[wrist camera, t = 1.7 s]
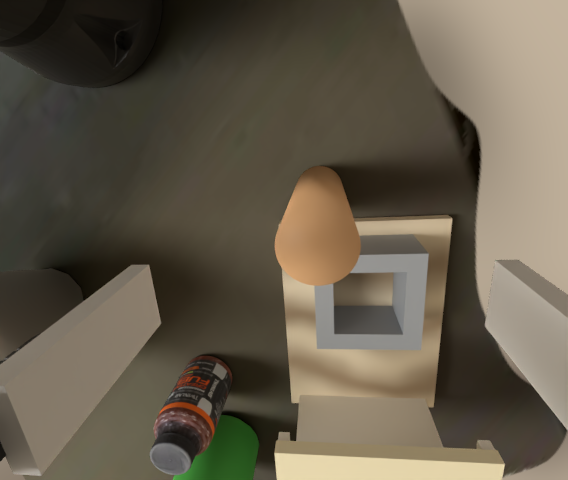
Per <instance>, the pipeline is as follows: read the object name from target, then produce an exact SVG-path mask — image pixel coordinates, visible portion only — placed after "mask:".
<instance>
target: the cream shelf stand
mask: <svg viewBox="0 0 568 480" xmlns="http://www.w3.org/2000/svg"><path fill="white" fill-rule="evenodd" d="M274 454H275V464H276V474H277V480H502V476H503V471H504V466H505V464H504V462H503V460H502V458H501V456H500V454H499V452H498V451H497V450H495V449H494V447H493V446H492V444H491V442H490V441H488V440H478V441H477V447H476V449H461V448H443V445H442V443H441V440H440V437H439V435H438V432H437V429H436V427H435V424H434V421H433V419H432V416H431V413H430V411H429V408H428V405H427V403H426V400H425V399H420V398H384V397H349V396H313V395H300V398H299V411H298V423H297V436H296V441H290V432H279V435H278V440H276V445H275V452H274Z"/></svg>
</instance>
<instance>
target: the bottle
mask: <svg viewBox="0 0 568 480" xmlns="http://www.w3.org/2000/svg"><path fill="white" fill-rule="evenodd" d="M258 449H259V441H258V438H257V435H256V434H255V432H254V431H253V430H252V428H251V427H250V426H249V425H247V424H246V423H244V422H243V421H241V420H240V419H238V418H235V417H232V416H227V415H221V416H220V419H219V421H218V424H217V427H216V430H215V433H214V435H213V438H212V441H211V443H210V445H209V446H208V448H207V449H206V450H205V451H204V452H203V453H201V454H200V455H198V456H195V458H194V460H193V463H192V465H191V468H190V469H189V470H188V471H187V472H186V473H184V474H181V475H175V476H174V478H173V480H253V476H254V470H255V465H256V460H257V454H258Z"/></svg>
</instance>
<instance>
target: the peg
mask: <svg viewBox="0 0 568 480" xmlns="http://www.w3.org/2000/svg"><path fill="white" fill-rule="evenodd" d="M360 250H361V241H360V236H359V233H358V230H357V227H356V224H355V221H354V218H353V215H352V212H351V209H350V206H349V203H348V200H347V197H346V194H345V191H344V188H343V185H342V182H341V179H340V177H339V176H338V174H337V173H336V172H335V171H333V170H332V169H330V168H328V167H325V166H315V167H312V168H309V169H307V170H306V171H305V172H304V173H303V174H302V175H301V176H300V178H299V180H298V182H297V184H296V187H295V189H294V192H293V194H292V197H291V199H290V202H289V204H288V207H287V209H286V212H285V214H284V217H283V219H282V222H281V224H280V226H279V229H278V231H277V234H276V238H275V252H276V256H277V259H278V262H279V264H280V265H281V267H282V268H283V270H284V271H285V272H286V273H287V274H288V275H289V276H291V277H292V278H293V279H295V280H297V281H299V282H301V283H304V284H307V285H313V286H323V285H329V284H332V283H335V282H337V281H339V280H341V279H343V278H344V277H345V276H347V275H348V274H349V273H350V272H351V271H352V269H353V268H354V267H355V265H356V263H357V261H358V259H359V255H360Z"/></svg>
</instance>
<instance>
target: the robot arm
mask: <svg viewBox="0 0 568 480" xmlns="http://www.w3.org/2000/svg"><path fill="white" fill-rule="evenodd" d="M162 5H163V0H0V51H1V52H3V53H4V54H6V55H8V56H9V57H11V58H12V59H14V60H16V61H17V62H19V63H21V64H22V65H24V66H26V67H27V68H29V69H30V70H32V71H34V72H35V73H37V74H39V75H41V76H43V77H45V78H47V79H50V80H53V81H55V82H59V83H62V84H67V85H73V86H80V87H88V88H98V87H105V86H110V85H113V84H116V83H118V82H120V81H122V80H124V79H126V78H127V77H129V76H130V75H131V74H133V73H134V72H135V71H136V70H137V69H138V68H139V67H140V66H141V65H142V64H143V62H144V61H145V60H146V58H147V57H148V55H149V53H150V52H151V50H152V48H153V45H154V43H155V41H156V38H157V35H158V31H159V28H160V23H161V16H162ZM160 324H161V320H160V315H159V310H158V305H157V301H156V296H155V291H154V286H153V281H152V276H151V272H150V267H149V265H131V266H129V267H128V268H127V269H125V270H124V271H123V272H121V273H120V274H119V275H117V276H116V277H115V278H113V279H112V280H111V281H109V282H108V283H107V284H106V285H104V286H103V287H102V288H100V289H99V290H98V291H96V292H95V293H94V294H92V295H91V296H90V297H88V298H87V299H86V300H85V301H83V302H82V303H81V304H79V305H78V306H77V307H75V308H74V309H73V310H71V311H70V312H69V313H67V314H66V315H65V316H63V317H62V318H61V319H60V320H58V321H57V322H56V323H54V324H53V325H52V326H50V327H49V328H48V329H46V330H45V331H44V332H42V333H40V334H38V335H36V336H34V337H32V338H31V339H29V340H28V341H27V342H25V343H24V344H23V345H21V346H20V347H19V348H17V351H13V352H12V353H11V354H9V355H8V356H7V357H5V358H4V361H0V461H1V460H2V459H3V458H4V457H6V459H7V461H8V463H9V465H10V468H11V470H12V472H13V473H14V474H22V475H37V476H42V474H43V473H44V472H45V470H46V469H47V468H48V467H49V465H50V464H51V463H52V462H53V460H54V459H55V458H56V456H57V455H58V454H59V453H60V451H61V450H62V449H63V448H64V446H65V445H66V444H67V442H68V441H69V440H70V439H71V437H72V436H73V435H74V434H75V432H76V431H77V430H78V429H79V427H80V426H81V425H82V423H83V422H84V421H85V420H86V418H87V417H88V416H89V415H90V413H91V412H92V411H93V409H94V408H95V407H96V406H97V404H98V403H99V402H100V401H101V399H102V398H103V397H104V396H105V394H106V393H107V392H108V390H109V389H110V388H111V387H112V385H113V384H114V383H115V382H116V380H117V379H118V378H119V376H120V375H121V374H122V373H123V371H124V370H125V369H126V368H127V366H128V365H129V364H130V362H131V361H132V360H133V359H134V357H135V356H136V355H137V354H138V352H139V351H140V350H141V349H142V347H143V346H144V345H145V343H146V342H147V341H148V340H149V338H150V337H151V336H152V335H153V333H154V332H155V331H156V329H157V328H158V327H159V326H160ZM485 327H486V328H487V330H488V331H489V332H490V333H491V335H492V336H493V337H494V338H495V340H496V341H497V342H498V343H499V345H500V346H501V347H502V348H503V349H504V351H505V352H506V353H507V355H508V356H509V357H510V358H511V360H512V361H513V362H514V363H515V365H516V366H517V367H518V368H519V370H520V371H521V372H522V374H523V375H524V376H525V377H526V378H527V380H528V381H529V382H530V384H531V385H532V386H533V387H534V389H535V390H536V391H537V392H538V394H539V395H540V396H541V397H542V399H543V400H544V401H545V402H546V404H547V405H548V406H549V407H550V409H551V410H552V411H553V412H554V414H555V415H556V416H557V417H558V419H559V420H560V421H561V422H562V424H563V425H564V426H565V427H566V429H567V430H568V295H567V294H566V293H564V292H563V291H562V290H560V289H559V288H557V287H556V286H555V285H553V284H552V283H550V282H549V281H547V280H546V279H545V278H543V277H542V276H540V275H539V274H537V273H536V272H535V271H533V270H532V269H530V268H529V267H528V266H526V265H525V264H523V263H522V262H520V261H519V260H495V266H494V272H493V278H492V284H491V290H490V297H489V303H488V309H487V315H486V322H485Z"/></svg>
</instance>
